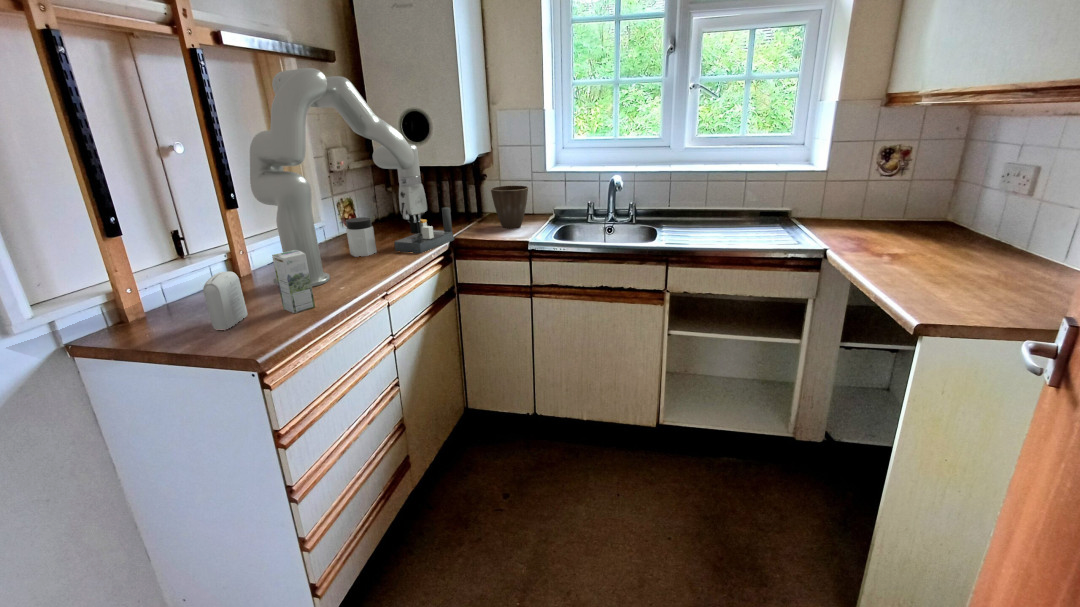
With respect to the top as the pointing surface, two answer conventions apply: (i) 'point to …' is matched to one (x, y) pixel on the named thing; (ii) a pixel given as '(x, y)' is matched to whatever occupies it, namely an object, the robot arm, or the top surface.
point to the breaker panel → (423, 242)
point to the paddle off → (427, 232)
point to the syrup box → (294, 281)
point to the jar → (360, 237)
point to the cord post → (447, 219)
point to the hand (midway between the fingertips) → (415, 232)
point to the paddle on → (422, 224)
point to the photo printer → (224, 300)
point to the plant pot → (510, 205)
